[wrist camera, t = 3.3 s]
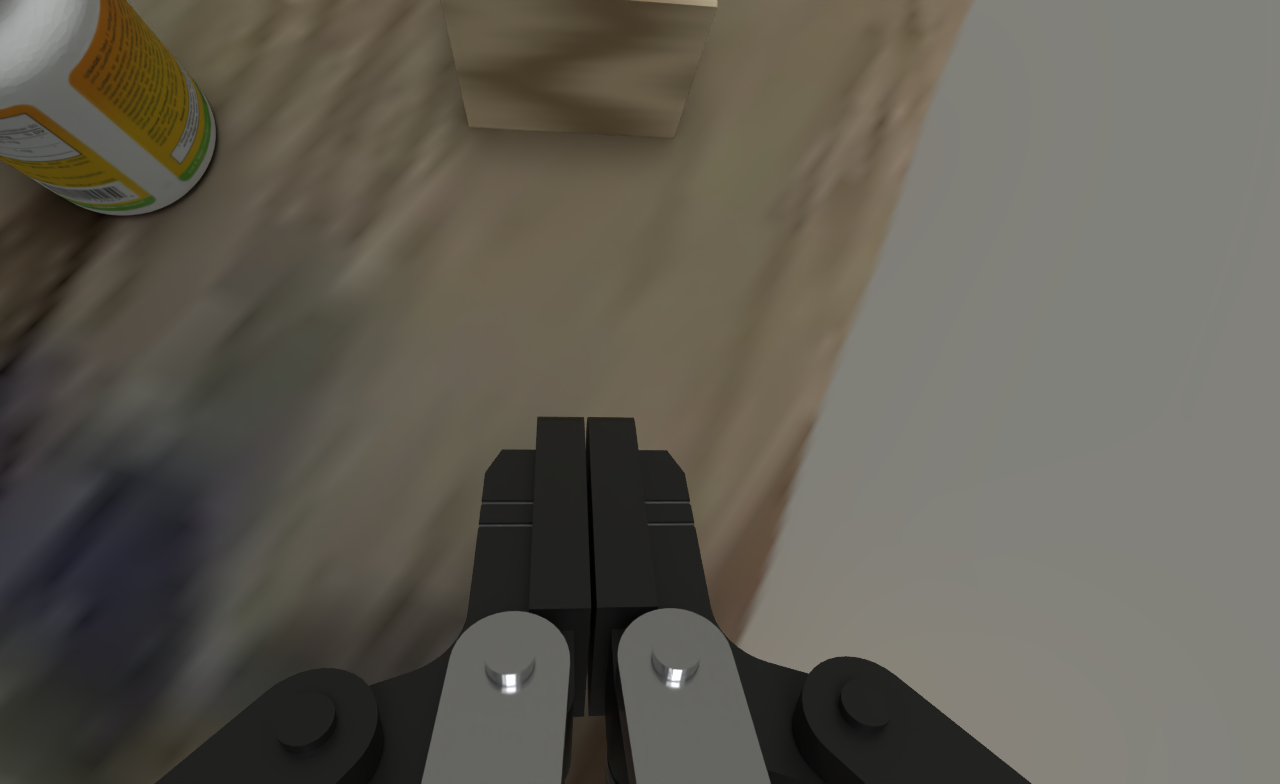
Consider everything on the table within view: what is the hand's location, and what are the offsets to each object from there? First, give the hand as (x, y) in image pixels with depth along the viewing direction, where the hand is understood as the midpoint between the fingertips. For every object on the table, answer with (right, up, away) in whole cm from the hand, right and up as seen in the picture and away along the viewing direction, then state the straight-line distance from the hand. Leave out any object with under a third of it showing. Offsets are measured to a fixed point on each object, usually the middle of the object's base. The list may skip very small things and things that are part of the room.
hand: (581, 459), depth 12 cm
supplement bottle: (-15, +9, +12) cm, 21 cm away
